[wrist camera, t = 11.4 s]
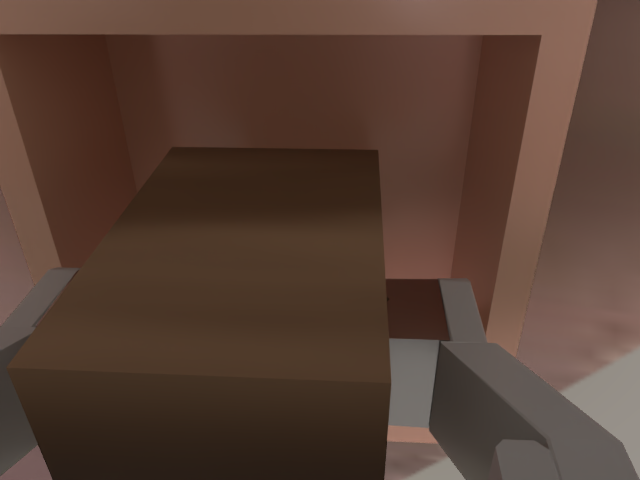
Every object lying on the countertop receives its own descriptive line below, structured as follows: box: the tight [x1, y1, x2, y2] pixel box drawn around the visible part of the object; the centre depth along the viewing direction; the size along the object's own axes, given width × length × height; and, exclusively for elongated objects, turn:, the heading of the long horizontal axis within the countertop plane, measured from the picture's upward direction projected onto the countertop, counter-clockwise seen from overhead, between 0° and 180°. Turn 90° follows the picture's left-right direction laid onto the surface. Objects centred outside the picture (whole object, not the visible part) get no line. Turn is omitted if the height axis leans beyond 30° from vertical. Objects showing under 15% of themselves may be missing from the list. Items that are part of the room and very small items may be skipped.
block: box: [6, 147, 391, 480], centre depth 9 cm, size 4×4×6 cm
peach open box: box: [0, 0, 598, 444], centre depth 13 cm, size 10×10×5 cm
